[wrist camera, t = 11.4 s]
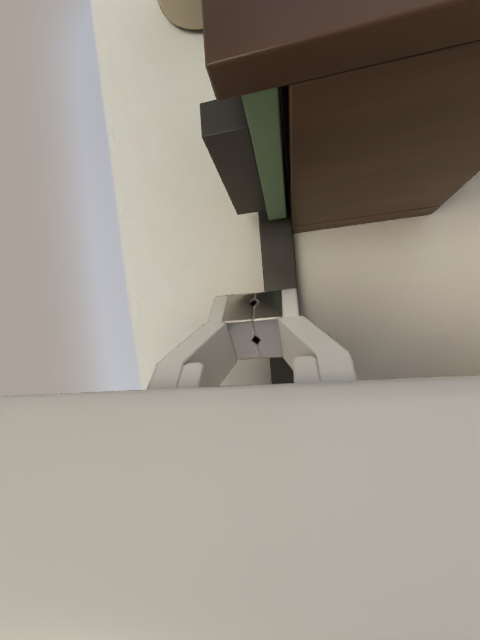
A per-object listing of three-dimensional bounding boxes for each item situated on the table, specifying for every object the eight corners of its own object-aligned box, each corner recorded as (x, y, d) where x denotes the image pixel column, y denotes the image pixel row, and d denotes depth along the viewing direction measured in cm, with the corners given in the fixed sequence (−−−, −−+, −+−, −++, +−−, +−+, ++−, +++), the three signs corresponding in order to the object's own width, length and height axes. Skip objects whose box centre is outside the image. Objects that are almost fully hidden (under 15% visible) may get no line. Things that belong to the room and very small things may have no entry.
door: (286, 218, 19) (278, 83, 9) (242, 224, 19) (186, 104, 9) (272, 50, 19) (249, -247, 10) (230, 61, 20) (167, -210, 10)
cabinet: (452, 376, 18) (892, 487, 5) (272, 384, 20) (232, 475, 7) (408, 31, 19) (641, -589, 6) (248, 71, 21) (177, -336, 8)
